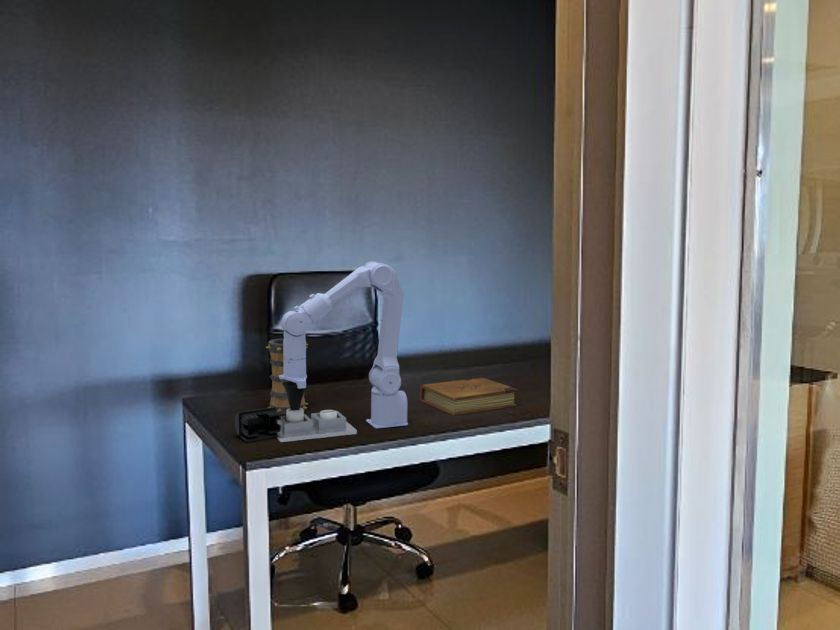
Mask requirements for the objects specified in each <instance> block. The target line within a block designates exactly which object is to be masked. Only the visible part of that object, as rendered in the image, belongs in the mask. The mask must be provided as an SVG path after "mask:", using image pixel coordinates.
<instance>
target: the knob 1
mask: <svg viewBox="0 0 840 630" xmlns="http://www.w3.org/2000/svg"><path fill="white" fill-rule="evenodd" d="M304 414H305V411H304V409H302V408H300V409H299V410H293V411H292V410H291V409H290V408H289V409H287V410H286V414H285V416H286V420H287V423H292V422H302V421H304Z"/></svg>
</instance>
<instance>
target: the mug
mask: <svg viewBox="0 0 840 630" xmlns="http://www.w3.org/2000/svg"><path fill="white" fill-rule="evenodd" d="M283 340H284V337H283V338H273V339H270V340H269V341H268V345H267V346H265V348H266V349H268V352H269V354H270V358H269V364H270V365H271V373H272V374H271V375H270V376H269V378H270V379H271V381H272V383H271V385H272V386H271V389H270V393H269V395H270V402H269V403H268V404H269V406H268V407H267V408H270V407H276V412H277V413H279V414H280V415H286V410H287V409H289V408H290V406H289V401H288V396H287V393H286V390H285V388H284V386H283V384H282V383H283V382H288V380H285V379H280V378H279V375H283V374H284V364H283ZM308 345H309V343H307V342H306V349H308ZM305 395H306V391H305V392H304V394H303V397H302V401H301V405H300V408H302V409H304V412H305V411H306V410H307V409H308V407H307V405H309V403H308V402H306V400H305Z"/></svg>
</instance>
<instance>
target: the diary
mask: <svg viewBox="0 0 840 630" xmlns="http://www.w3.org/2000/svg"><path fill="white" fill-rule="evenodd" d="M419 389H420V391H419V401H420V402H422V403H425V404H427V405H429V406H431V407H434V408H436V409H439V410H440V411H443V412H446V413H448V414H449V415H452V416H459V415H465V414H472V413H478V412H484V411H491V410H498V409H505V408H511V407H517V406H518V404H517V403H515V393H518V392H519V391H518V388H516V387H513V386H509V385H506V384H503V383H500V382H498V381H494V380H491V379H488V378H485V377H475V378H467V379H460V380H451V381H442V382H435V383H433V382H432V383H426V384H421V385H420V388H419Z"/></svg>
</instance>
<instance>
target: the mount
mask: <svg viewBox="0 0 840 630" xmlns="http://www.w3.org/2000/svg"><path fill="white" fill-rule="evenodd" d="M336 411H337V418H332V419H320V412H315V413H310V417H309V416H308V415H307V414H305V413H304V421H302V422H292V423H287V420H286V415H283V416H282V415H281V420H278V419H277V421H276V422H277V423H278V424H280V425H281V431H280V432H277V433H275V434H276V435H277V437H276V438H277V440H278V441H279V442H280V443H284V442H285V443H286V442H296V441H303V440H312V439H322V438H332V437H340V436H351V435H357V434H358V431H357V429H356V428H355V427H354V426H353V425H352V424H350V423H349V422H348V421H347V417H345V416H344V415H343V414H342V413H341V412H340V411H339V410H336Z"/></svg>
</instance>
